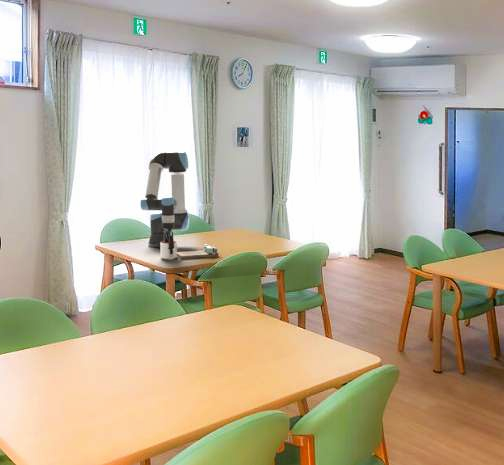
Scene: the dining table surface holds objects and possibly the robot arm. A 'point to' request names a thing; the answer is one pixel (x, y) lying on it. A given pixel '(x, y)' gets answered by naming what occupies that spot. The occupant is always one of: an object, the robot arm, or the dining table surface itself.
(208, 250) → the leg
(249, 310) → the dining table surface
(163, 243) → the cup
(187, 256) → the brown tray
